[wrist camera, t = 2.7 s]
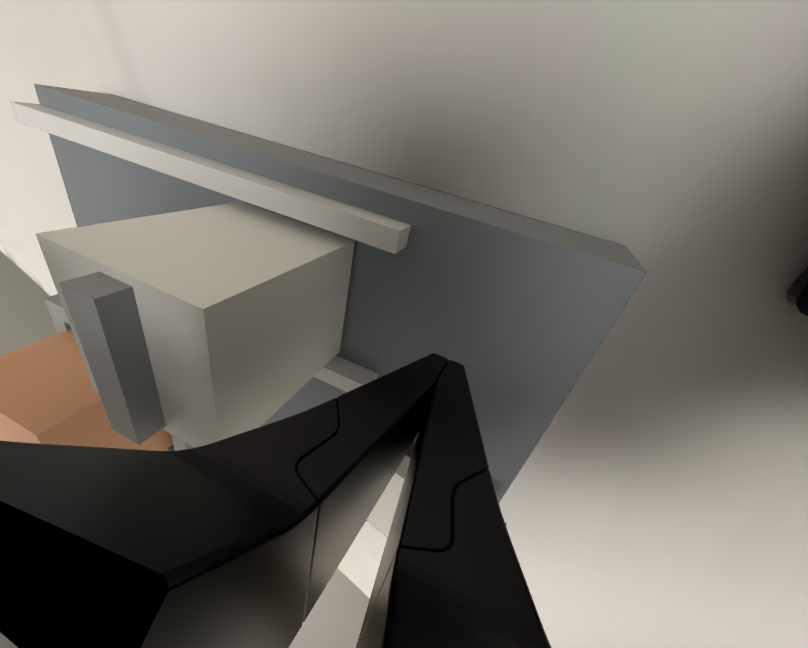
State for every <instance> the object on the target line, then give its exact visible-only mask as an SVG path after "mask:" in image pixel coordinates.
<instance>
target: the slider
mask: <svg viewBox="0 0 808 648" xmlns="http://www.w3.org/2000/svg"><path fill="white" fill-rule="evenodd" d="M36 236H37V239H38V241H39V244H40V247H41V249H42V252H43V255H44V257H45V260H46V263H47V266H48V268H49V271H50V274H51V276H52V279H53V282H54V284H55V287H56V290H57V292H58V295H59V298H60V300H61V303H62V306H63V308H64V311H65V314H66V316H67V319H68V322H69V324H70V327H71V330H72V332H73V335H74V338H75V340H76V343H77V346H78V348H79V351H80V354H81V356H82V359H83V362H84V364H85V367H86V370H87V372H88V375H89V378H90V380H91V383H92V386H93V388H94V390H95V391H96V392H98V393H99V394H100V397H101V399H102V402H103V405H104V408H105V410H106V413H107V416H108V419H109V421H110V424H111V427H112V429H113V430H115V431H116V432H118V433H120V434H121V435H123V436H125V437H126V438H128V439H130V440H131V441H133V442H135V443H136V444H138V445H140V444H142V443H143V442H144V441H146V440H147V439H149V438H150V437H151V436H153V435H154V434H156V433H157V432H158V431H160V430H161V429H163V430H165V431H167V432H168V433H170V434H172V435H174V436H175V437H177V438H179V439H181V440H182V441H184V442H186V443H188V444H189V445H191V446H193V447H200V446H204V445H207V444H211V443H214V442H217V441H220V440H223V439H226V438H229V437H232V436H235V435H238V434H241V433H244V432H247V431H250V430H252V429H255V428H258V427H260V426H261V425H263V424H264V423H265V422H266V421H267V420H268V419H269V418H270V417H271V416H272V415H273V414H274V413H275V412H276V411H277V410H278V409H280V408H281V407H282V406H283V405H284V404H285V403H286V402H287V401H288V400H289V399H290V398H291V397H292V396H293V395H294V394H295V393H297V392H298V391H299V390H300V389H301V388H302V387H303V386H304V385H305V384H306V383H307V382H308V381H309V380H310V379H311V378H312V377H313V376H315V375H316V374H317V373H318V372H319V371H320V370H321V369H322V368H323V367H324V366H325V365H326V364H327V363H328V362H329V361H330V360H332V359H333V358H334V357H335V356H336V355H337V354H338V353H339V352H340V346H341V339H342V332H343V324H344V317H345V310H346V302H347V295H348V288H349V281H350V273H351V266H352V259H353V251H354V244H355V241H353V240H350V239H348V238H345V237H342V236H339V235H336V234H333V233H330V232H328V231H325V230H322V229H319V228H316V227H313V226H310V225H308V224H305V223H302V222H299V221H296V220H293V219H291V218H288V217H285V216H282V215H279V214H276V213H273V212H271V211H268V210H265V209H262V208H259V207H256V206H253V205H251V204H248V203H245V202H235V203H229V204H223V205H216V206H210V207H203V208H197V209H191V210H184V211H178V212H171V213H165V214H159V215H152V216H146V217H139V218H133V219H127V220H120V221H114V222H107V223H101V224H95V225H88V226H82V227H75V228H69V229H63V230H56V231H50V232H43V233H37V234H36Z"/></svg>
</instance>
